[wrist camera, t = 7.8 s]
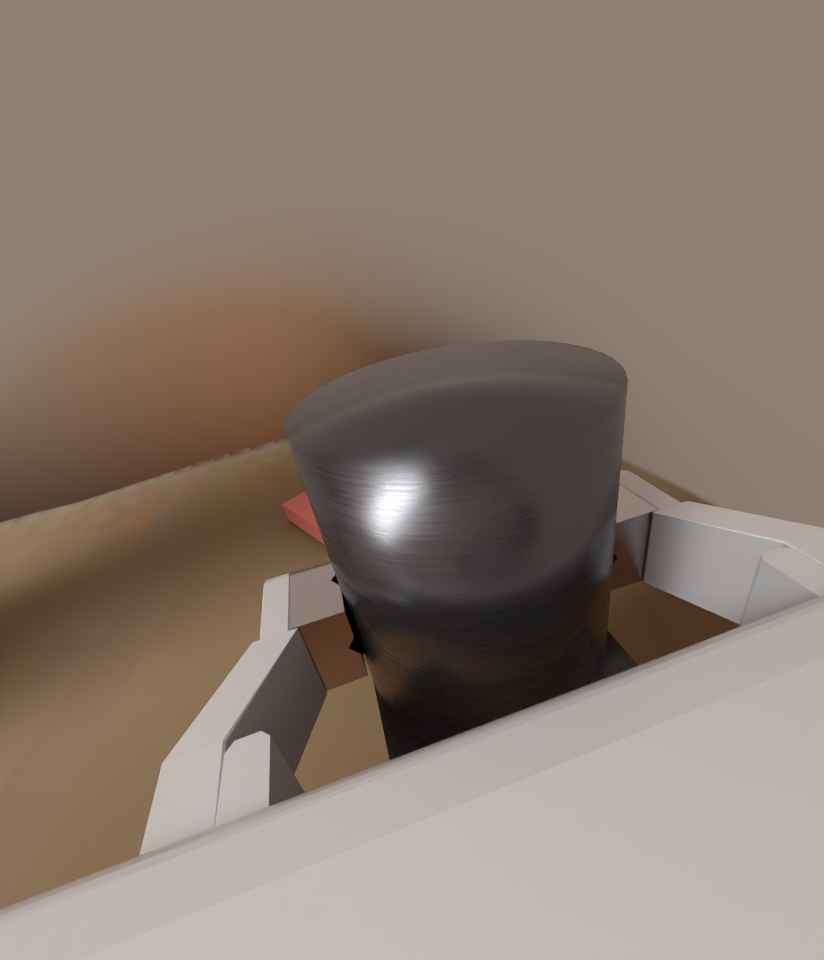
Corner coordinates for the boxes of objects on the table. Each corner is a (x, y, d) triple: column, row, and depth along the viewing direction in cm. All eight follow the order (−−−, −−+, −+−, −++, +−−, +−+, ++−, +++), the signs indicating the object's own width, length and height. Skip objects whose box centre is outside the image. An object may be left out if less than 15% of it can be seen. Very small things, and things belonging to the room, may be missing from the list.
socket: (643, 799, 10) (729, 390, 5) (433, 890, 9) (284, 520, 4) (533, 631, 14) (518, 326, 9) (385, 683, 14) (285, 384, 9)
